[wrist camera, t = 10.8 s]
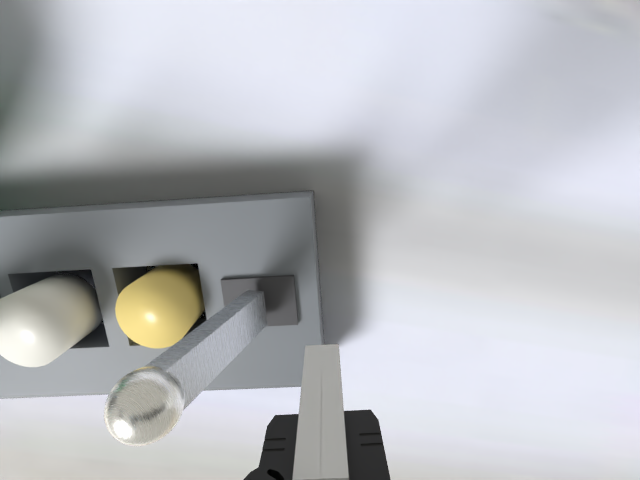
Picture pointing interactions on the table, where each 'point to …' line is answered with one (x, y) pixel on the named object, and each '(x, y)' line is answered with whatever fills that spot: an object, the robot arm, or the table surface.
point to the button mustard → (161, 305)
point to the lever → (181, 373)
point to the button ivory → (47, 319)
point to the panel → (170, 249)
